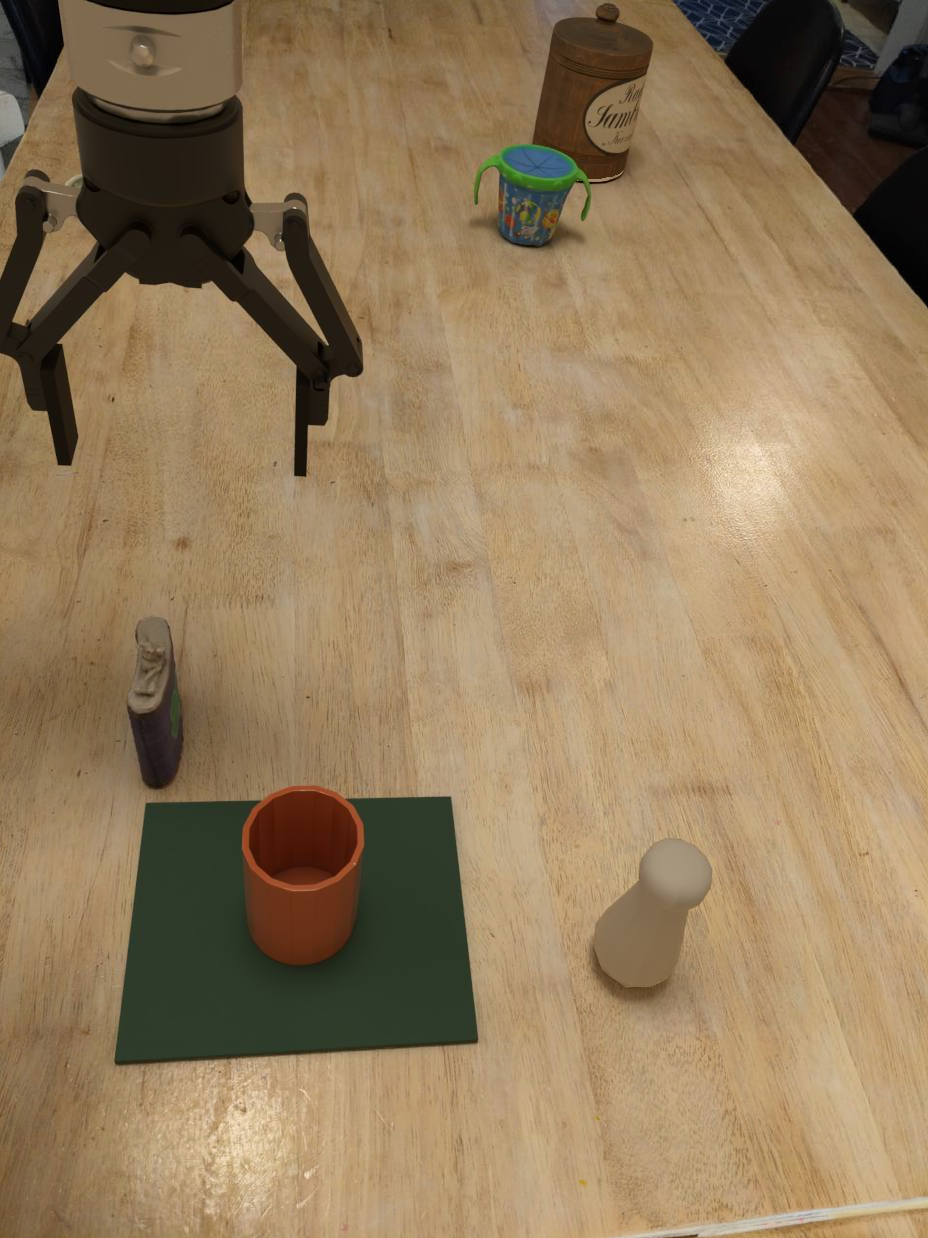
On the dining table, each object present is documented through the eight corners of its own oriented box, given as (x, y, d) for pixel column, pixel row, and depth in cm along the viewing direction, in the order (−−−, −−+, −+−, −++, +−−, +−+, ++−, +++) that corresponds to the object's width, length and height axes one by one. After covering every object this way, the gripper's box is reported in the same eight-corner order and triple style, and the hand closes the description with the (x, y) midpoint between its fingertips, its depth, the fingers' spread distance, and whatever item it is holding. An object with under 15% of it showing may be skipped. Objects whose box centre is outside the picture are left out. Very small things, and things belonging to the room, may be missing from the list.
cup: (245, 968, 66) (239, 893, 58) (249, 867, 70) (244, 786, 63) (357, 963, 67) (366, 888, 60) (354, 864, 72) (361, 784, 64)
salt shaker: (568, 950, 70) (612, 852, 60) (625, 904, 73) (676, 804, 63) (630, 1018, 67) (685, 927, 58) (686, 967, 70) (748, 873, 61)
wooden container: (598, 193, 152) (634, 31, 136) (513, 160, 156) (538, -1, 140) (639, 163, 161) (678, 8, 145) (557, 133, 166) (586, -21, 150)
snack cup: (583, 228, 144) (599, 155, 136) (578, 263, 136) (594, 188, 129) (474, 207, 144) (484, 133, 136) (463, 241, 137) (473, 165, 129)
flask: (148, 690, 80) (133, 596, 72) (186, 690, 81) (176, 596, 73) (138, 791, 74) (121, 699, 66) (180, 789, 75) (168, 698, 67)
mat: (115, 1064, 61) (114, 1061, 61) (146, 806, 73) (145, 802, 73) (477, 1042, 65) (478, 1039, 64) (450, 799, 77) (451, 796, 76)
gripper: (-169, 92, 42) (-49, 488, 57) (437, 152, 46) (395, 506, 61) (-117, 26, 47) (-20, 407, 62) (426, 85, 51) (389, 429, 66)
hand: (186, 457), depth 62 cm, fingers open, 13 cm apart
